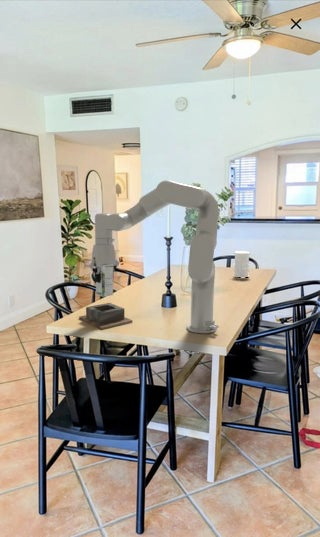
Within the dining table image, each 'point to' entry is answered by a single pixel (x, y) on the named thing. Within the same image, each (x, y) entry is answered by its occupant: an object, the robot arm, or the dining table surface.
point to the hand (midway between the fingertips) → (104, 280)
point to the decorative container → (241, 264)
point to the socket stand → (105, 316)
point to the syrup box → (105, 281)
